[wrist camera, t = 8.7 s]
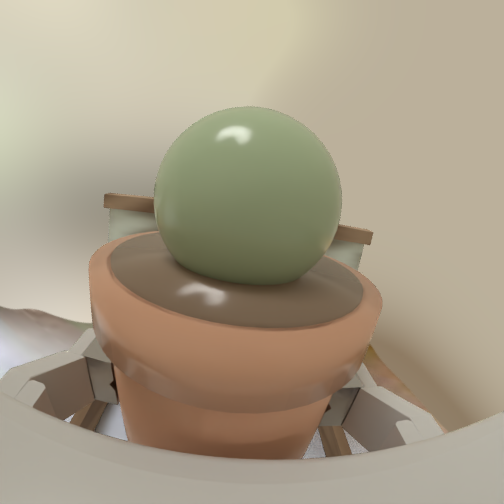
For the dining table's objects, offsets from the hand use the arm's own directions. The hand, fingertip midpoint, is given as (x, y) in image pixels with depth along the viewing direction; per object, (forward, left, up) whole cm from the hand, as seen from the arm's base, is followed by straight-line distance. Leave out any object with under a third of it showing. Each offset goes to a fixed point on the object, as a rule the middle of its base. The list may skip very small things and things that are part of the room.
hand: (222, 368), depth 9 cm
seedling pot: (0, -1, -8) cm, 8 cm away
